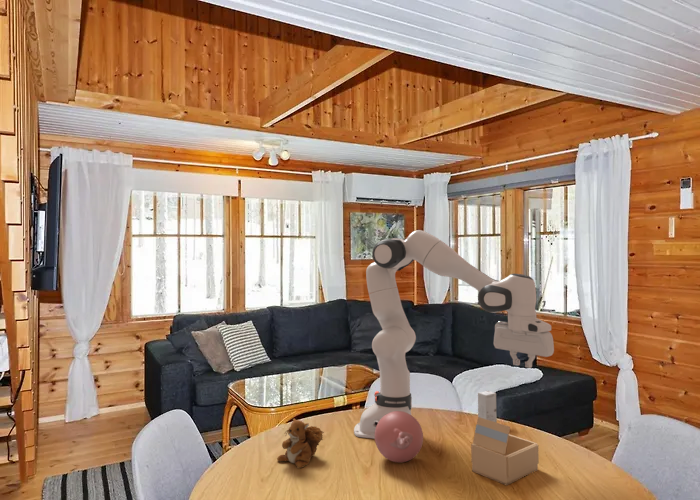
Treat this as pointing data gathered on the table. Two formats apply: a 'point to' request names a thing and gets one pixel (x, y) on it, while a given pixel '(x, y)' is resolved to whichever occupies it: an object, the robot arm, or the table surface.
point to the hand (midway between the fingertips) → (522, 366)
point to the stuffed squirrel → (301, 443)
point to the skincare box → (487, 405)
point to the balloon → (398, 436)
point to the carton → (506, 460)
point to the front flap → (491, 435)
